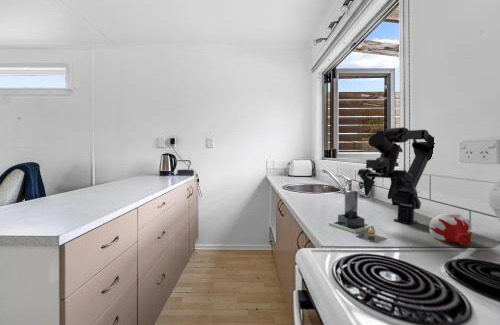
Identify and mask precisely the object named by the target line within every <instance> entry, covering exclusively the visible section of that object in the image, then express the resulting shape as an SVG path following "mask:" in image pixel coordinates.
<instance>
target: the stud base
mask: <svg viewBox="0 0 500 325" xmlns="http://www.w3.org/2000/svg"><path fill="white" fill-rule="evenodd" d="M354 237H356V238H359V239H361V240H364V241H368V242H371V243H374V244H378V243H381V242H384V241H386V240H388V237H384V236H380V235H378V234H376V230H375V229H374V227H373V228H369V229H367V232H365V233H361V234H359V235H358V234H357V235H356V236H354Z"/></svg>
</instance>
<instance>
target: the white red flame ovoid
mask: <svg viewBox="0 0 500 325" xmlns="http://www.w3.org/2000/svg"><path fill="white" fill-rule="evenodd" d="M428 228H429V233H430V235H431V236H432V237H433V238H434V239H437V240H438V241H441V242H444V243H449V244H456V245H457V244H459V245H460V246H461V245H462V246H463V245H465V246H466V245H468V244H470V243H471V242H472V237H471V236H472V235H473V233H472V231H471V230H472V224H471V222H470V220H469V219H468V218H466V217H464V216H463V215H462V214H460V213H458V212H457V213H456V212H455V213H446V212H445V213H444V212H443V213H441V214H438V215H436V216H435V217H433V218H432V219H431V220H430V223H429V227H428Z"/></svg>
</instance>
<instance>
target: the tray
mask: <svg viewBox="0 0 500 325" xmlns="http://www.w3.org/2000/svg"><path fill="white" fill-rule="evenodd" d="M328 226H331V227H333V228H337V229H341V230H343V231H347V232H351V233H354V234H356V233H360V232H364V231H368V229H369V228H373V229H374V225H373V224H370V223H366V222H364V227H361V228H358V229H351V228H347V227H344V226H341V225H339V224H338V220H335V221H331V222H328Z"/></svg>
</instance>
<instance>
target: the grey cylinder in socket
mask: <svg viewBox="0 0 500 325" xmlns="http://www.w3.org/2000/svg"><path fill="white" fill-rule="evenodd" d="M358 193H359V191H357V190H353V189H351V190H350V189H349V190H348V189H347V190H344V214H343V213H342V214H337V221H338V224H337V225H341V226H344V227H347V228H351V229H354V230H355V229H358V228H361V227H365V226H364V223H365V218H364V217H362V216H359V215H358V206H359V205H358V201H359V200H358V196H359V194H358Z"/></svg>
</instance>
